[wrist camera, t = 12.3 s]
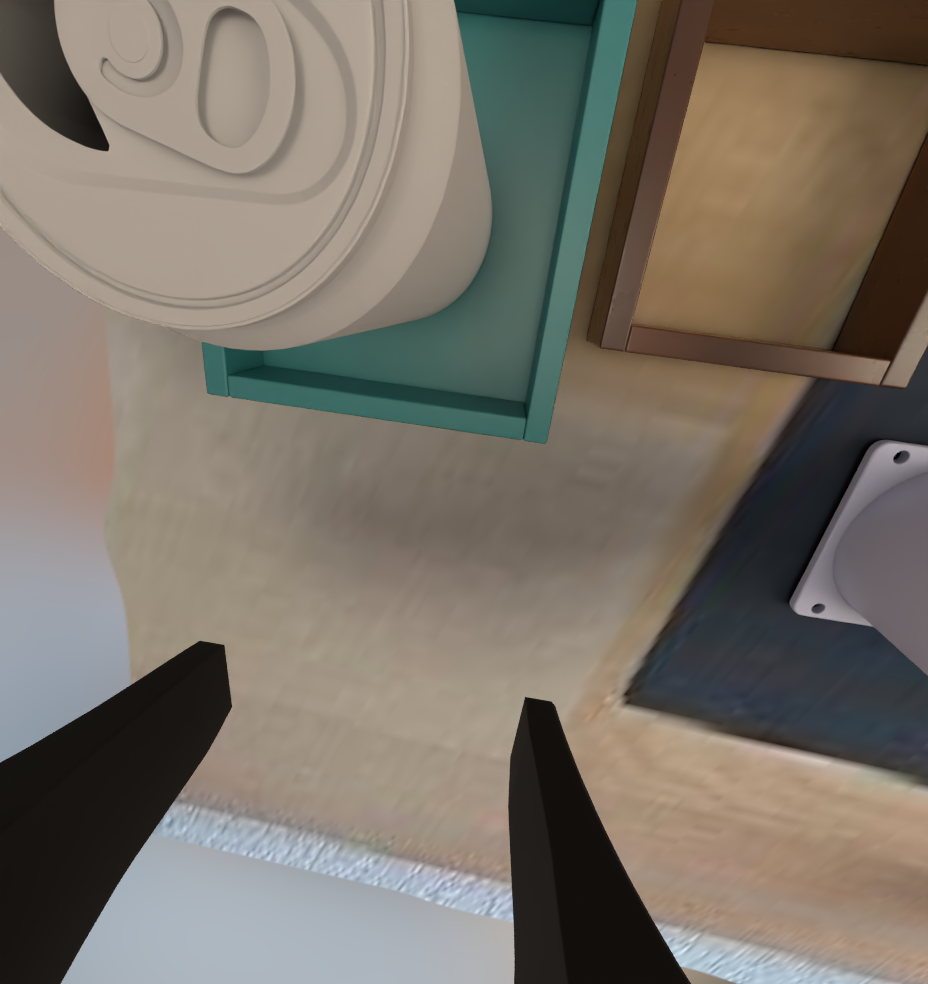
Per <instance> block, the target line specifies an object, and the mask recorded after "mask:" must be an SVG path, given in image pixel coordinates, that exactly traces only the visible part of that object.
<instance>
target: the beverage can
mask: <svg viewBox="0 0 928 984" xmlns="http://www.w3.org/2000/svg"><path fill="white" fill-rule="evenodd" d="M0 227H1V228H2V229H3V230H4V231H5V232H6V233H7V234H8V235H9V236H10V237H11V238H12V239H13V240H14V241H15V242H16V243H17V244H18V245H19V246H20V247H21V248H22V249H23V250H24V251H25V252H27V253H28V254H29V255H30V256H31V257H32V258H33V259H34V260H36V261H37V262H38V263H39V264H40V265H41V266H43V267H44V268H45V269H46V270H48V271H49V272H50V273H52V274H53V275H55V276H56V277H57V278H59V279H60V280H62V281H63V282H64V283H66V284H67V285H68V286H70V287H72V288H73V289H74V290H76V291H77V292H79V293H81V294H83V295H84V296H86V297H88V298H90V299H92V300H94V301H95V302H97V303H99V304H101V305H103V306H105V307H107V308H109V309H111V310H113V311H116V312H118V313H121V314H123V315H126V316H129V317H132V318H135V319H138V320H141V321H145V322H148V323H151V324H156V325H160V326H165V327H167V328H169V329H170V330H172V331H174V332H177V333H179V334H182V335H184V336H187V337H190V338H193V339H196V340H199V341H202V342H206V343H209V344H212V345H217V346H222V347H227V348H232V349H241V350H263V351H265V350H278V349H286V348H292V347H297V346H302V345H307V344H311V343H316V342H320V341H325V340H329V339H333V338H338V337H342V336H347V335H351V334H356V333H360V332H365V331H369V330H374V329H378V328H383V327H387V326H391V325H396V324H400V323H405V322H409V321H414V320H418V319H422V318H425V317H428V316H431V315H433V314H435V313H437V312H439V311H441V310H443V309H444V308H446V307H448V306H449V305H450V304H451V303H453V302H454V301H455V300H456V299H457V298H458V297H460V296H461V295H462V293H463V292H464V291H465V290H466V289H467V288H468V287H469V285H470V284H471V282H472V281H473V279H474V278H475V276H476V275H477V273H478V271H479V269H480V267H481V265H482V263H483V260H484V258H485V255H486V251H487V248H488V245H489V241H490V235H491V228H492V198H491V190H490V185H489V180H488V175H487V169H486V164H485V159H484V154H483V149H482V143H481V138H480V133H479V128H478V122H477V117H476V112H475V107H474V102H473V96H472V91H471V86H470V81H469V76H468V70H467V65H466V60H465V55H464V50H463V44H462V39H461V34H460V29H459V24H458V18H457V13H456V8H455V3H454V0H0Z"/></svg>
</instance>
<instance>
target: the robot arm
mask: <svg viewBox="0 0 928 984" xmlns="http://www.w3.org/2000/svg"><path fill="white" fill-rule="evenodd" d="M900 451H901V455H900V456H899V457H898V458H897V459H895V460H893V458H894V456H895V455H896V453H898V452H900ZM789 604H790V607H791V608H792V609H793V610H794V611H795V612H796V613H797V614H799V615H804V616H810V617H816V618H822V619H829V620H835V621H841V622H847V623H853V624H860V625H866V626H872V627H875V628H876V629H877V630H878V631H879V632H880V633H881V634H882V635H883V636H885V637H886V638H887V639H888V640H889V641H890V642H891V643H892V644H893V645H894V646H896V647H897V648H898V649H899V650H900V651H901V652H902V653H903V654H904V655H905V656H907V657H908V658H909V659H910V660H911V661H912V662H913V663H914V664H915V665H917V666H918V667H919V668H920V669H921V670H922V671H923V672H924V673H925V674H926V675H928V446H927V445H920V444H913V443H906V442H899V441H892V440H880V441H877V442H875V443H874V444H872V445H871V446H870V447H869V448H868V450H867V451H866V453H865V455H864V457H863V459H862V461H861V463H860V465H859V467H858V469H857V471H856V473H855V475H854V477H853V479H852V481H851V483H850V485H849V486H848V488H847V490H846V492H845V494H844V496H843V498H842V500H841V502H840V504H839V506H838V508H837V510H836V512H835V514H834V516H833V518H832V520H831V522H830V523H829V525H828V527H827V529H826V531H825V533H824V535H823V537H822V539H821V541H820V543H819V545H818V547H817V549H816V551H815V553H814V555H813V557H812V558H811V560H810V562H809V564H808V566H807V568H806V570H805V572H804V574H803V576H802V578H801V580H800V582H799V584H798V586H797V588H796V590H795V592H794V594H793V595H792V597H791V599H790V603H789ZM816 604H818V605H817V606H816V607H814V608H812V607H813V606H814V605H816ZM231 708H232V703H231V695H230V687H229V679H228V671H227V663H226V655H225V647H224V645H221V644H215V643H209V642H204V641H199V642H197V643H196V644H194V645H192V646H191V647H189V648H188V649H186V650H184V651H183V652H181V653H180V654H178V655H177V656H175V657H174V658H172V659H170V660H169V661H167V662H166V663H164V664H163V665H161V666H160V667H158V668H157V669H155V670H154V671H152V672H151V673H149V674H147V675H146V676H144V677H143V678H141V679H140V680H138V681H137V682H135V683H133V684H132V685H130V686H129V687H127V688H126V689H124V690H122V691H121V692H119V693H118V694H116V695H115V696H113V697H111V698H110V699H108V700H107V701H105V702H103V703H102V704H100V705H99V706H97V707H96V708H94V709H92V710H91V711H89V712H87V713H86V714H84V715H82V716H80V717H79V718H77V719H75V720H74V721H72V722H71V723H69V724H67V725H65V726H64V727H62V728H60V729H59V730H57V731H55V732H53V733H52V734H50V735H48V736H47V737H45V738H43V739H42V740H40V741H38V742H37V743H35V744H33V745H31V746H30V747H28V748H26V749H24V750H22V751H21V752H19V753H17V754H15V755H13V756H12V757H10V758H8V759H6V760H4V761H2V762H1V763H0V984H61V982H62V980H63V978H64V976H65V975H66V973H67V971H68V969H69V967H70V966H71V964H72V962H73V960H74V959H75V957H76V955H77V953H78V952H79V950H80V948H81V946H82V944H83V943H84V941H85V939H86V938H87V936H88V934H89V932H90V931H91V929H92V927H93V926H94V923H95V922H96V921H97V919H98V917H99V915H100V914H101V912H102V910H103V909H104V907H105V905H106V903H107V902H108V900H109V898H110V897H111V895H112V893H113V891H114V890H115V888H116V886H117V885H118V883H119V882H120V880H121V878H122V877H123V875H124V874H125V872H126V871H127V869H128V868H129V866H130V865H131V863H132V861H133V860H134V858H135V857H136V855H137V854H138V853H139V851H140V850H141V848H142V847H143V845H144V844H145V842H146V841H147V840H148V838H149V836H150V835H151V834H152V832H153V831H154V829H155V828H156V827H157V825H158V824H159V822H160V821H161V819H162V818H163V816H164V815H165V814H166V812H167V811H168V809H169V808H170V806H171V805H172V803H173V802H174V801H175V799H176V798H177V796H178V795H179V793H180V792H181V790H182V789H183V787H184V786H185V785H186V783H187V782H188V780H189V779H190V777H191V776H192V774H193V773H194V771H195V770H196V768H197V767H198V765H199V764H200V763H201V761H202V760H203V758H204V757H205V755H206V754H207V752H208V750H209V749H210V747H211V745H212V743H213V741H214V740H215V738H216V736H217V734H218V732H219V731H220V729H221V727H222V725H223V723H224V721H225V719H226V717H227V715H228V713H229V712H230V710H231ZM508 809H509V833H510V855H511V876H512V896H513V917H514V947H515V948H514V949H515V976H514V984H691V983H690V981H689V980H688V978H687V977H686V975H685V974H684V972H683V970H682V969H681V967H680V966H679V964H678V962H677V961H676V959H675V957H674V956H673V954H672V952H671V951H670V949H669V947H668V945H667V944H666V942H665V940H664V939H663V937H662V935H661V934H660V932H659V930H658V929H657V927H656V925H655V923H654V922H653V920H652V918H651V916H650V915H649V913H648V911H647V909H646V907H645V906H644V904H643V902H642V900H641V899H640V897H639V895H638V893H637V891H636V890H635V888H634V886H633V884H632V882H631V880H630V878H629V876H628V875H627V873H626V871H625V869H624V867H623V865H622V863H621V861H620V859H619V857H618V855H617V853H616V851H615V849H614V847H613V845H612V843H611V841H610V839H609V837H608V835H607V833H606V831H605V829H604V827H603V825H602V822H601V820H600V818H599V816H598V814H597V812H596V810H595V807H594V805H593V803H592V800H591V798H590V796H589V794H588V791H587V789H586V787H585V785H584V782H583V780H582V778H581V775H580V773H579V771H578V768H577V766H576V763H575V761H574V758H573V756H572V753H571V750H570V748H569V745H568V743H567V740H566V737H565V734H564V732H563V729H562V726H561V723H560V720H559V717H558V714H557V711H556V707H555V705H554V704H553V703H552V702H550V701H545V700H539V699H533V698H527V697H525V700H524V704H523V708H522V712H521V716H520V720H519V724H518V729H517V733H516V737H515V741H514V745H513V749H512V753H511V759H510V780H509V804H508Z"/></svg>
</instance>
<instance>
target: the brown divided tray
mask: <svg viewBox="0 0 928 984" xmlns="http://www.w3.org/2000/svg"><path fill="white" fill-rule="evenodd" d="M704 41H709V42H718V43H728V44H737V45H747V46H756V47H766V48H775V49H784V50H794V51H803V52H813V53H822V54H832V55H841V56H851V57H860V58H870V59H879V60H888V61H898V62H907V63H917V64H926V65H928V0H662V3H661V8H660V12H659V17H658V21H657V26H656V30H655V35H654V39H653V44H652V48H651V53H650V57H649V62H648V66H647V71H646V75H645V80H644V84H643V89H642V93H641V98H640V102H639V107H638V111H637V116H636V120H635V125H634V129H633V134H632V138H631V143H630V147H629V152H628V156H627V161H626V165H625V170H624V174H623V179H622V183H621V188H620V192H619V197H618V201H617V206H616V210H615V215H614V219H613V224H612V228H611V233H610V237H609V242H608V246H607V251H606V255H605V260H604V264H603V269H602V273H601V278H600V282H599V287H598V291H597V296H596V300H595V305H594V309H593V314H592V318H591V323H590V327H589V332H588V336H587V341H589V342H590V343H592V344H594V345H596V346H598V347H599V348H602V349H609V350H617V351H626V352H631V353H639V354H646V355H653V356H661V357H668V358H675V359H682V360H690V361H697V362H704V363H712V364H719V365H726V366H733V367H741V368H748V369H755V370H763V371H770V372H777V373H784V374H792V375H799V376H806V377H814V378H821V379H828V380H835V381H843V382H850V383H857V384H865V385H872V386H880V387H887V388H894V389H905V388H906V387H907V385H908V383H909V381H910V379H911V377H912V376H913V374H914V372H915V370H916V368H917V366H918V364H919V362H920V360H921V358H922V356H923V354H924V352H925V350H926V349H927V347H928V136H927V138H926V140H925V143H924V145H923V147H922V150H921V152H920V154H919V156H918V159H917V161H916V163H915V166H914V168H913V170H912V172H911V175H910V177H909V179H908V181H907V184H906V186H905V188H904V191H903V193H902V195H901V197H900V200H899V202H898V204H897V206H896V209H895V211H894V213H893V216H892V218H891V220H890V222H889V225H888V227H887V229H886V232H885V234H884V236H883V238H882V241H881V243H880V245H879V247H878V250H877V252H876V254H875V257H874V259H873V261H872V263H871V266H870V268H869V270H868V272H867V275H866V277H865V279H864V282H863V284H862V286H861V288H860V291H859V293H858V295H857V298H856V300H855V302H854V304H853V307H852V309H851V311H850V313H849V316H848V318H847V320H846V323H845V325H844V327H843V329H842V332H841V334H840V336H839V338H838V341H837V343H836V345H835V348H834V350H833V351H832V350H825V349H818V348H810V347H803V346H795V345H788V344H780V343H773V342H765V341H758V340H751V339H743V338H736V337H728V336H721V335H713V334H706V333H698V332H691V331H684V330H676V329H669V328H661V327H654V326H646V325H639V324H632V320H633V316H634V313H635V309H636V305H637V301H638V297H639V293H640V289H641V285H642V281H643V278H644V274H645V270H646V266H647V262H648V258H649V254H650V250H651V246H652V243H653V239H654V235H655V231H656V227H657V223H658V219H659V215H660V212H661V208H662V204H663V200H664V196H665V192H666V188H667V184H668V180H669V177H670V173H671V169H672V165H673V161H674V157H675V153H676V149H677V145H678V142H679V138H680V134H681V130H682V126H683V122H684V118H685V114H686V111H687V107H688V103H689V99H690V95H691V91H692V87H693V83H694V79H695V76H696V72H697V68H698V64H699V60H700V56H701V52H702V48H703V44H704Z"/></svg>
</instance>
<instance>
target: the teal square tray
mask: <svg viewBox="0 0 928 984" xmlns="http://www.w3.org/2000/svg"><path fill="white" fill-rule="evenodd" d="M454 3H455V8H456V13H457V18H458V24H459V29H460V34H461V39H462V44H463V50H464V55H465V60H466V65H467V70H468V76H469V81H470V86H471V91H472V96H473V102H474V107H475V112H476V117H477V122H478V128H479V133H480V138H481V143H482V149H483V154H484V159H485V164H486V169H487V175H488V180H489V185H490V190H491V198H492V228H491V235H490V241H489V245H488V248H487V251H486V255H485V258H484V260H483V263H482V265H481V267H480V269H479V271H478V273H477V275H476V276H475V278H474V279H473V281H472V282H471V284H470V285H469V287H468V288H467V289H466V290H465V291H464V292H463V293H462V295H461V296H460V297H458V298H457V299H456V300H455V301H454V302H453V303H451V304H450V305H449V306H448V307H446V308H444V309H443V310H441V311H439V312H437V313H435V314H433V315H431V316H428V317H425V318H422V319H418V320H414V321H409V322H405V323H400V324H396V325H391V326H387V327H383V328H378V329H374V330H369V331H365V332H360V333H356V334H351V335H347V336H342V337H338V338H333V339H329V340H325V341H320V342H316V343H311V344H307V345H302V346H297V347H292V348H286V349H278V350H265V351H263V350H241V349H232V348H227V347H222V346H217V345H212V344H209V343H206V342H202V349H203V358H204V367H205V376H206V385H207V393H208V394H211V395H218V396H225V397H229V396H230V397H232V398H239V399H246V400H253V401H260V402H266V403H273V404H280V405H287V406H294V407H300V408H307V409H314V410H321V411H327V412H334V413H341V414H348V415H355V416H361V417H368V418H375V419H382V420H389V421H395V422H402V423H409V424H416V425H422V426H429V427H436V428H443V429H450V430H456V431H463V432H470V433H477V434H483V435H490V436H497V437H504V438H511V439H517V440H522V439H524V441H529V442H536V443H543V444H546V442H547V438H548V433H549V428H550V423H551V418H552V413H553V409H554V404H555V399H556V394H557V389H558V384H559V379H560V375H561V370H562V365H563V360H564V355H565V350H566V345H567V341H568V336H569V331H570V326H571V321H572V316H573V311H574V306H575V302H576V297H577V292H578V287H579V282H580V277H581V272H582V268H583V263H584V258H585V253H586V248H587V243H588V238H589V234H590V229H591V224H592V219H593V214H594V209H595V204H596V200H597V195H598V190H599V185H600V180H601V175H602V170H603V165H604V161H605V156H606V151H607V146H608V141H609V136H610V131H611V127H612V122H613V117H614V112H615V107H616V102H617V97H618V93H619V88H620V83H621V78H622V73H623V68H624V63H625V59H626V54H627V49H628V44H629V39H630V34H631V29H632V24H633V20H634V15H635V10H636V5H637V0H454Z"/></svg>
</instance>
